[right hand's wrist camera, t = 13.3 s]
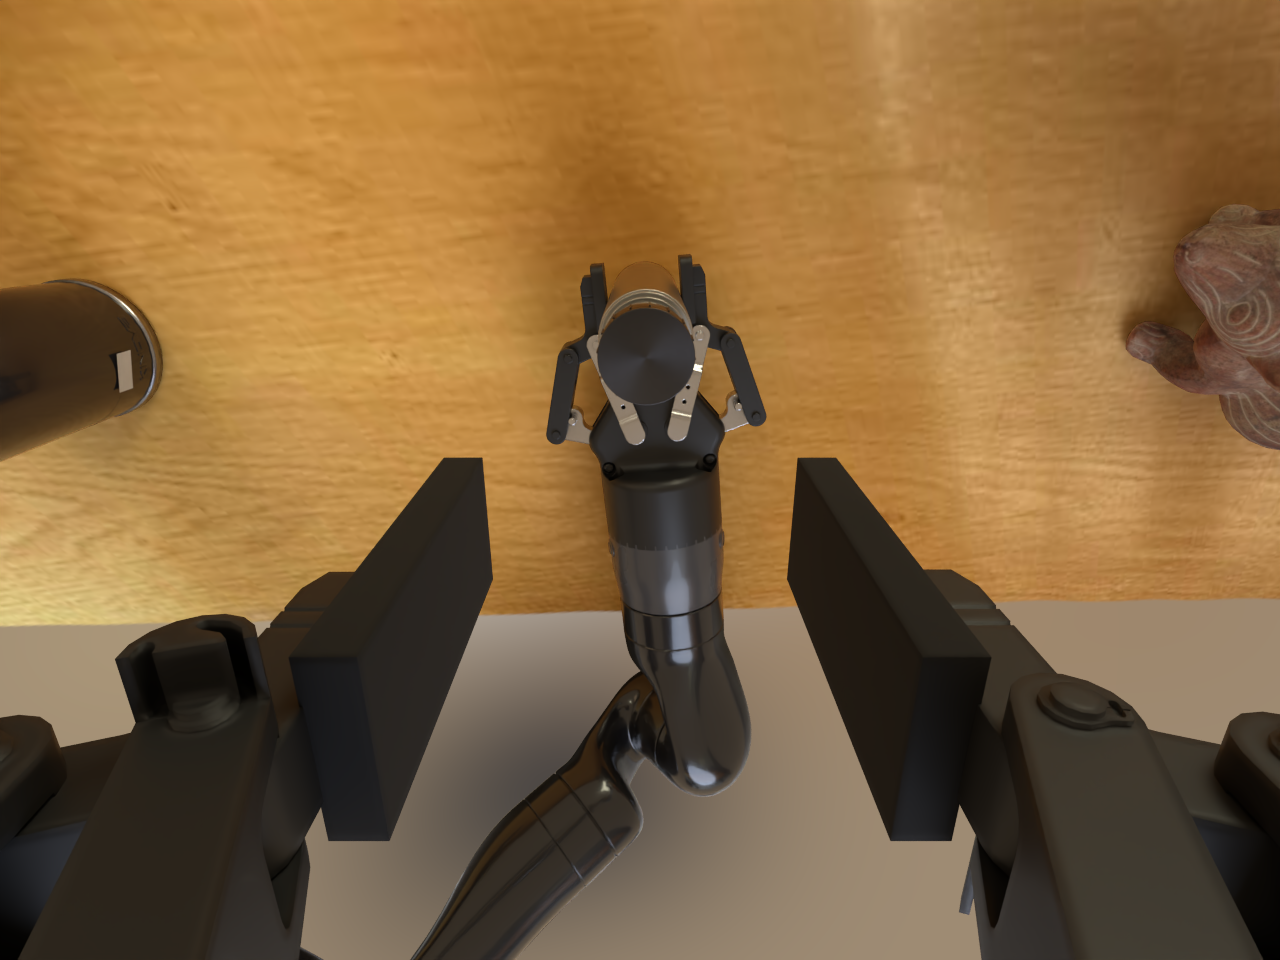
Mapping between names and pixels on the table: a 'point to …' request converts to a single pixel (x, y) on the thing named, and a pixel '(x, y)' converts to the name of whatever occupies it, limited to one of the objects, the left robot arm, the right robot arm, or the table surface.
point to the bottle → (644, 292)
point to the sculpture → (1227, 320)
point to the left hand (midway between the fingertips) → (641, 261)
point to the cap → (646, 354)
